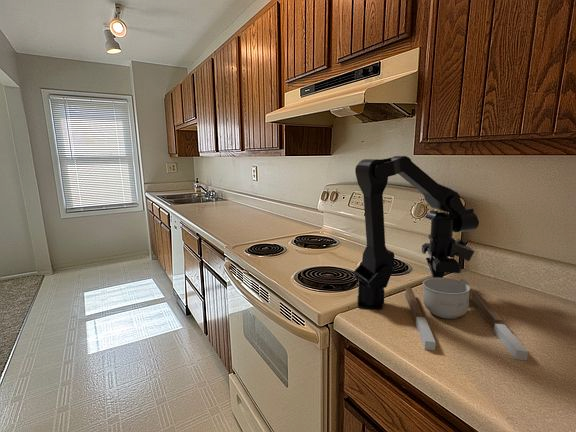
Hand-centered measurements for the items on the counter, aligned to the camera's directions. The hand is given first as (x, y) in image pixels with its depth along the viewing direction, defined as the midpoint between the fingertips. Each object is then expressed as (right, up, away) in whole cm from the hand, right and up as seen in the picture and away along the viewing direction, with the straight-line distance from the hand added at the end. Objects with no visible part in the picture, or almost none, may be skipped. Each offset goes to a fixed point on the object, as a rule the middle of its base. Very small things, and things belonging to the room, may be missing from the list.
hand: (437, 284), depth 91 cm
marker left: (-13, -7, -22) cm, 26 cm away
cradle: (-2, -5, -11) cm, 12 cm away
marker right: (+3, -7, -25) cm, 26 cm away
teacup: (-2, -5, -11) cm, 12 cm away
